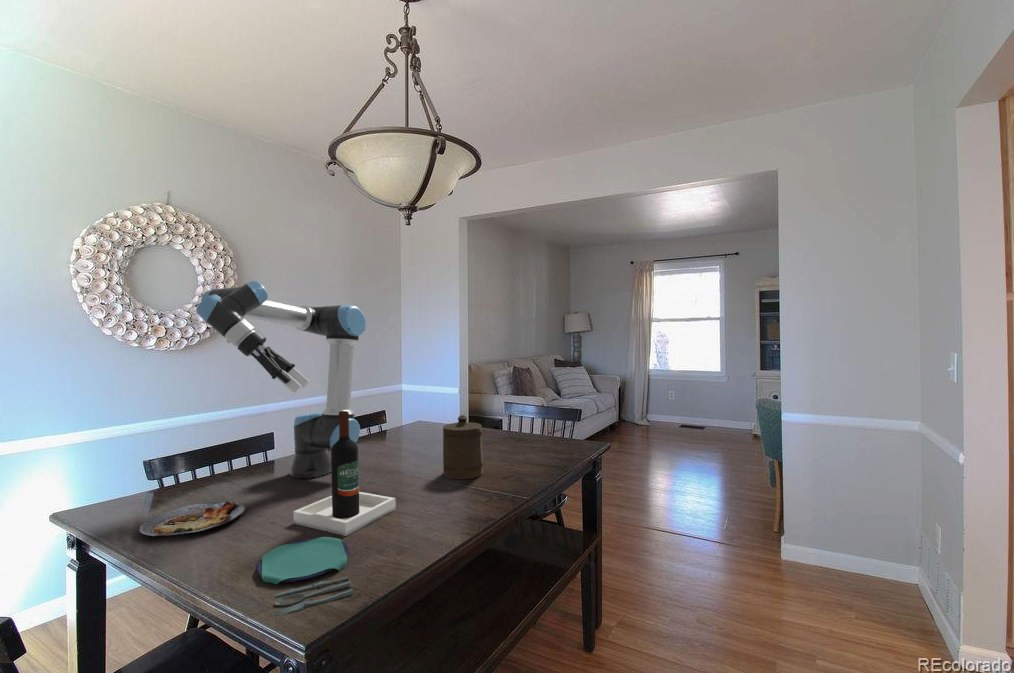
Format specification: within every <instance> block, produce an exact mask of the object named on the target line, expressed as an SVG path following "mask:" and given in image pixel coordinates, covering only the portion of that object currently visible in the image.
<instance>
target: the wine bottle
mask: <svg viewBox="0 0 1014 673" xmlns="http://www.w3.org/2000/svg"><path fill="white" fill-rule="evenodd" d="M330 460H331V496H332V516H333V517H334V518H338V519H345V518H350V517H354V516H356V515H358V514H359V492H360V481H359V480H360V478H359V477H360V472H359V446H358V444H357V442H356V443H355V442H354V441H352V440H351V439H350V437H349V411H340V412H339V440H338V441H337V442H336V443H335V444H334V445H333V446H332V448H331V449H330Z"/></svg>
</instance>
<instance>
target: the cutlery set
mask: <svg viewBox="0 0 1014 673" xmlns="http://www.w3.org/2000/svg"><path fill="white" fill-rule="evenodd" d="M349 555H350V547H349V545H348V544H347V543H346V542H345V541H342V539H340V538H336V537H329V536H321V537H314V538H309V539H307V538H306V539H303V540H299V541H295V542H294V541H293V542H290V543H287V544H282V545H278V546H276V547H275V548H272V549H271V550H270V551H268V552H266V553H264V554H263V555H262V557H261V560H260V561H259V562H258V565H257V567H256V569H257V572H258V575H259V576H260V577H261V579H262V581H263V582H265V583H269V584H273V585H274V584H275V585H278V584H279V583H280V582H282V583H285V582H286V583H288V582H290V583H292V582H297V581H304V580H309V579H313V578H315V577H319V576H321V575H324V574H326V573H328V572H330V571H332V570H335V569H336V570H338V572H340V571H341V570H343V569H344V567H345V566H346V565H347V563H348V556H349ZM345 580H348V581H345ZM339 581H345V582H342V583H339V584H336V585H333V586H328V587H326V588H324V589H320V590H317V591H316V592H312V593H310V594H306V593H299V592H302V591H307V590H310V589H314V590H315V589H316V588H322V587H323V586H326V585H327V584H328V585H329V584H331V583H335V582H339ZM351 584H352V583H351V580H349V575H347V576H345V577H342V578H339V579H332V580H327V581H318V582H317V583H316V582H314V583H313V585H308V586H307V585H306V586H302V587H297V588H293V589H290V590H286V591H282V592H278V593H277V594H275V595H274V598H275V599H276V598H279V597H281V598H279V599H277V600H276V601H274V605H275V606H279V607H286V608H283V609H279V610H276V611H274V612H275V617H278V616H281V615H286V614H290V613H294V612H299V611H303V610H304V608H308V607H309V606H313V605H318V604H324V603H326V602H328V603H329V602H331V601H334V600H338V599H341V598H345V597H348V596H353V595H354V589H352V588H351V589H348V590H345V591H342V592H339V593H336V594H333V595H331V596H329V597H324V598H321V599H316V600H315V599H314V600H310V601H309V600H306V601H303V600H304V599H307V598H310V597H313V596H316V595H319V594H322V593H323V594H324V593H325V592H330V591H333V590H338V589H342V588H348V587H351ZM293 598H301V599H299V600H297V601H294V602H291V603H284V604H281V603H282V602H284V601H286V600H289V599H293ZM287 606H289V607H287Z"/></svg>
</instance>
